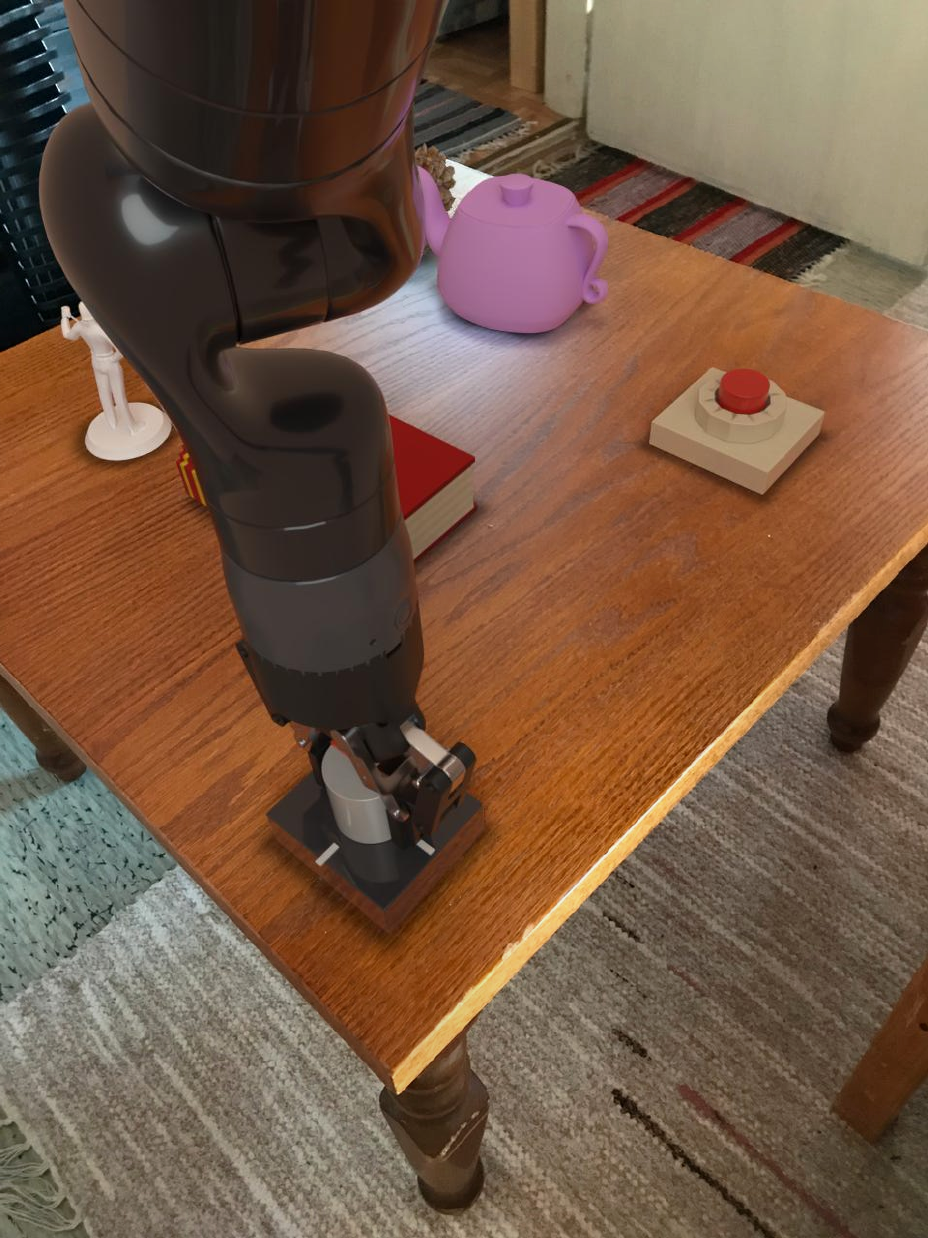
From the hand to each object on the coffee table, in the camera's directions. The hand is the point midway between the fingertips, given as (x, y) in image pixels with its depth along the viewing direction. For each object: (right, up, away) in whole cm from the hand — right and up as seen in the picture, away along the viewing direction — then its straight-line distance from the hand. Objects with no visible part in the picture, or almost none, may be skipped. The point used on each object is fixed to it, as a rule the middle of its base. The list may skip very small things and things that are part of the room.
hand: (373, 804), depth 54 cm
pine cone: (-3, +44, +43) cm, 62 cm away
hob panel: (0, -2, +3) cm, 3 cm away
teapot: (+9, +40, +39) cm, 56 cm away
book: (-5, +19, +21) cm, 29 cm away
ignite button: (+26, +27, +21) cm, 43 cm away
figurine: (-23, +25, +28) cm, 44 cm away
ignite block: (+26, +24, +24) cm, 43 cm away
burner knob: (0, 0, 0) cm, 0 cm away
